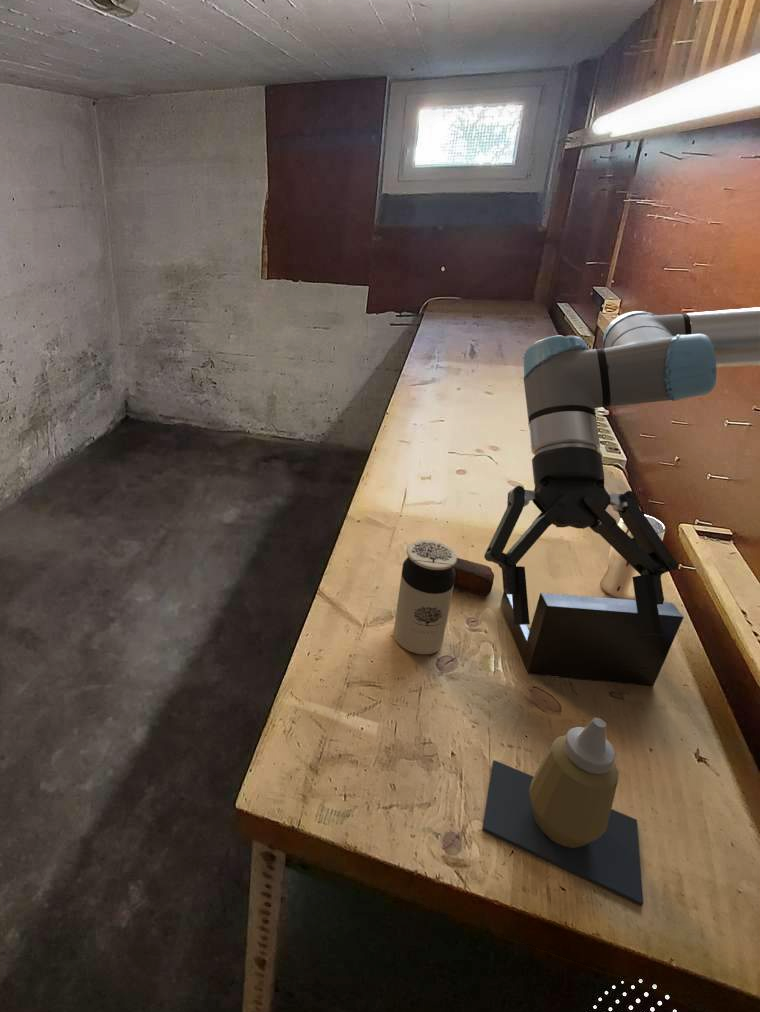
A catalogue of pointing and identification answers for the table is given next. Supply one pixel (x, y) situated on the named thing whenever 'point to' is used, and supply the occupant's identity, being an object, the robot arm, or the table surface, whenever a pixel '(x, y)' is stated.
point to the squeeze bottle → (576, 786)
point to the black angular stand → (592, 639)
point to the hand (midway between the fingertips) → (585, 629)
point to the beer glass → (625, 566)
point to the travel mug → (424, 596)
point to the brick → (473, 577)
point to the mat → (596, 862)
